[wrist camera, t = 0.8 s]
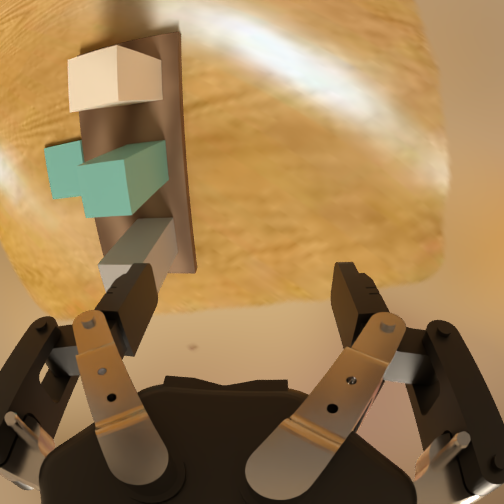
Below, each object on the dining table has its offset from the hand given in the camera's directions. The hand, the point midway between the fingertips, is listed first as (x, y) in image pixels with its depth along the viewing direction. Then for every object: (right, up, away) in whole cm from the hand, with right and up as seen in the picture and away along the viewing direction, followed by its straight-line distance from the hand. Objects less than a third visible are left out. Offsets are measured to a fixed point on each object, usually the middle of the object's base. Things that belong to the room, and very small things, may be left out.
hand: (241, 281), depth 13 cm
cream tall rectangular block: (-12, +21, +17) cm, 30 cm away
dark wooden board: (-15, +13, +23) cm, 30 cm away
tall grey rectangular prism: (-12, +3, +26) cm, 29 cm away
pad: (-26, +13, +23) cm, 37 cm away
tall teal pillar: (-12, +12, +21) cm, 28 cm away
